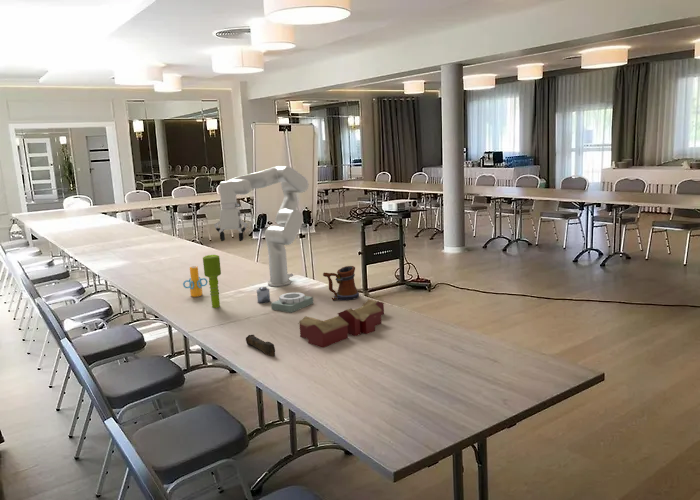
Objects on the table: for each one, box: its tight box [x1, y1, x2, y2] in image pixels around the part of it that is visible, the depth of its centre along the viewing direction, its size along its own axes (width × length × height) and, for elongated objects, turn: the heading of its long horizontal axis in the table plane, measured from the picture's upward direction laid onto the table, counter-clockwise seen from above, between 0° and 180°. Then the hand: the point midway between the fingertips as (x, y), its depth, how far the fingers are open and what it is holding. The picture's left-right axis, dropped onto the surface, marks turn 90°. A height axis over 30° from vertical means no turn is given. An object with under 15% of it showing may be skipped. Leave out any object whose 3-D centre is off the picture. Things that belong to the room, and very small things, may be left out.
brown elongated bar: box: [245, 334, 276, 357], centre depth 217 cm, size 19×4×5 cm, turn 34°
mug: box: [322, 265, 360, 301], centre depth 278 cm, size 18×12×15 cm, turn 122°
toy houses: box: [297, 298, 385, 349], centre depth 236 cm, size 45×20×10 cm, turn 135°
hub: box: [256, 286, 271, 304], centre depth 281 cm, size 6×6×7 cm
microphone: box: [202, 254, 222, 309], centre depth 275 cm, size 8×8×25 cm
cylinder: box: [182, 265, 209, 298], centre depth 298 cm, size 12×10×15 cm
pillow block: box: [270, 292, 314, 313], centre depth 271 cm, size 16×12×5 cm
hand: (232, 240), depth 288 cm, fingers open, 9 cm apart
